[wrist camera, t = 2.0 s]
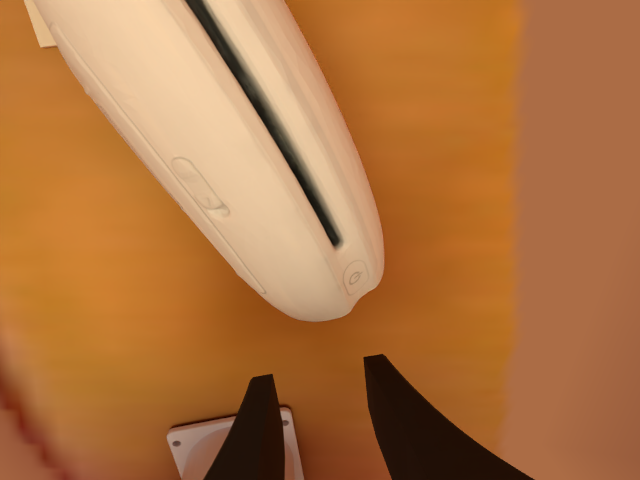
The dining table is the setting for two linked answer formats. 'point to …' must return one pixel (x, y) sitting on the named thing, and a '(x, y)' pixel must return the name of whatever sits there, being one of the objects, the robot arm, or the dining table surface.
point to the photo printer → (235, 138)
